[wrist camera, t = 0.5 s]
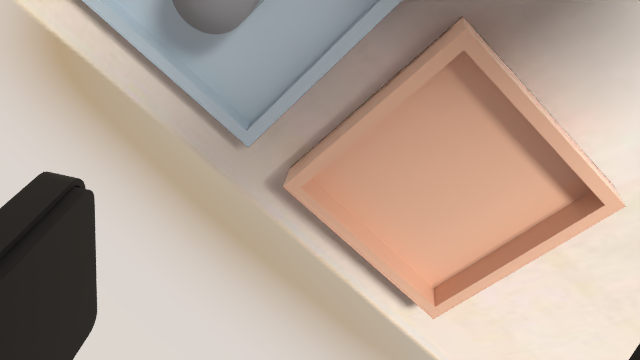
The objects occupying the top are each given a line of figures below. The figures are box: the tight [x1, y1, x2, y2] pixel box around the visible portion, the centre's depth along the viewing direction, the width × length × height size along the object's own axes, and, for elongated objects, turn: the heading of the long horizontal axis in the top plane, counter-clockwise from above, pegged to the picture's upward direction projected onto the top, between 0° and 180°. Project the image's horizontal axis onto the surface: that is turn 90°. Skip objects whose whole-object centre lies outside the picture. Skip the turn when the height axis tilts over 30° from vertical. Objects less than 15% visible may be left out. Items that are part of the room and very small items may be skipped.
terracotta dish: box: [283, 17, 625, 319], centre depth 43 cm, size 18×18×3 cm
